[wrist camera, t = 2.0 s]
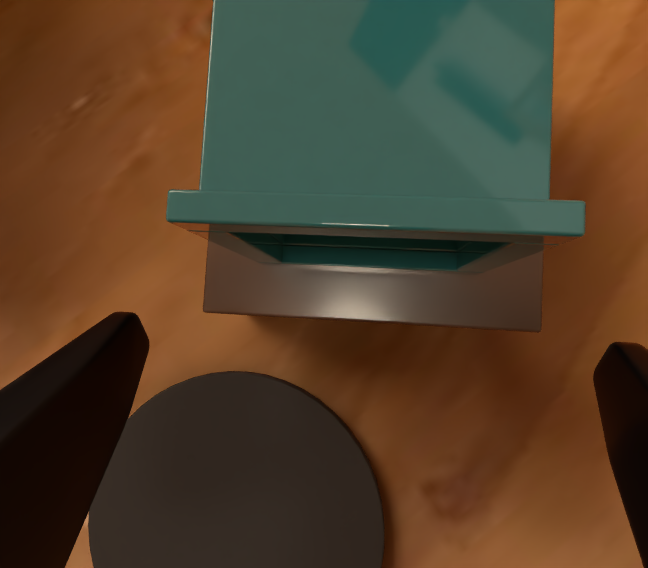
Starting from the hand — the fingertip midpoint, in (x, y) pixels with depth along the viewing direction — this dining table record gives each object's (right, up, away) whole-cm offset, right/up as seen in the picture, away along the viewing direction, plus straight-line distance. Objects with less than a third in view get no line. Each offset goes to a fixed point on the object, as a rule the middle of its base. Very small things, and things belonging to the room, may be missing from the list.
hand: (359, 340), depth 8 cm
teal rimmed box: (+1, +5, +6) cm, 8 cm away
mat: (-5, -9, +11) cm, 15 cm away
